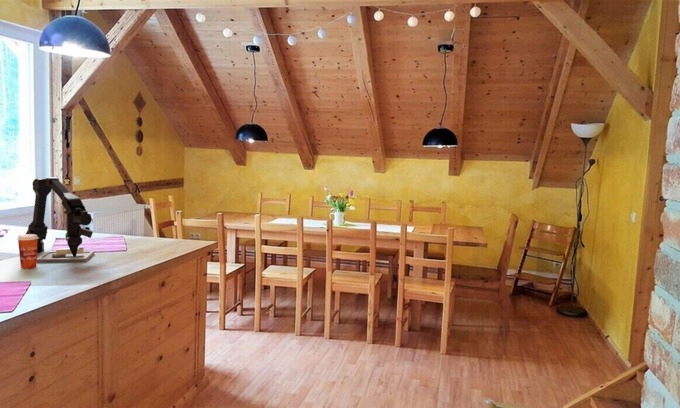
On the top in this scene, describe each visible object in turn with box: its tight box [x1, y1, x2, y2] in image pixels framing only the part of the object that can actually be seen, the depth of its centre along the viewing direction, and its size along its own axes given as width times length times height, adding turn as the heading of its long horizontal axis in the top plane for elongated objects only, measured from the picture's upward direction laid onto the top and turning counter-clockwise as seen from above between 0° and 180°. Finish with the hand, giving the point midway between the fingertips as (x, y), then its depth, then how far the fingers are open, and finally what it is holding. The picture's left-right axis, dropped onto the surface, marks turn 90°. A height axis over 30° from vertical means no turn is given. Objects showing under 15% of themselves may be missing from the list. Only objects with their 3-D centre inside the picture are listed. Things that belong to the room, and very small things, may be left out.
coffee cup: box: [16, 233, 38, 270], centre depth 232 cm, size 8×8×15 cm
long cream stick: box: [52, 246, 85, 257], centre depth 252 cm, size 14×6×4 cm, turn 114°
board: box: [36, 250, 95, 264], centre depth 252 cm, size 22×17×2 cm
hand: (74, 254), depth 247 cm, fingers open, 8 cm apart
